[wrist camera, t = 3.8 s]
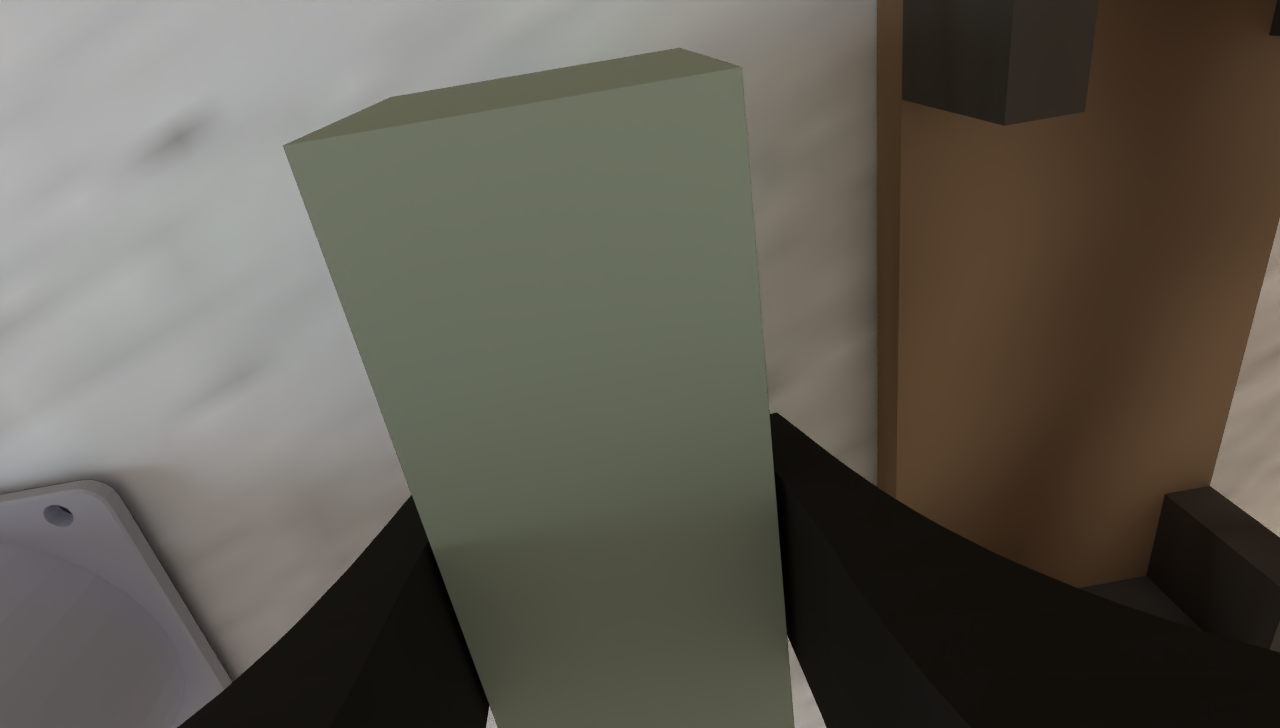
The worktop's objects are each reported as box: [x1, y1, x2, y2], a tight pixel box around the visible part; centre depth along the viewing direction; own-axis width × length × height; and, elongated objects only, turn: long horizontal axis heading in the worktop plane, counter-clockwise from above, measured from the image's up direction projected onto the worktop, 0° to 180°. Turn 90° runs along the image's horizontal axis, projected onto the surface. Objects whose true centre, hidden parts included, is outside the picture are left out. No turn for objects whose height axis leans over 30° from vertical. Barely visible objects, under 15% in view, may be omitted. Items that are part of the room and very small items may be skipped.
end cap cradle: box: [877, 0, 1280, 652], centre depth 12 cm, size 7×16×4 cm, turn 9°
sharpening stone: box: [283, 48, 794, 728], centre depth 11 cm, size 4×12×4 cm, turn 9°
